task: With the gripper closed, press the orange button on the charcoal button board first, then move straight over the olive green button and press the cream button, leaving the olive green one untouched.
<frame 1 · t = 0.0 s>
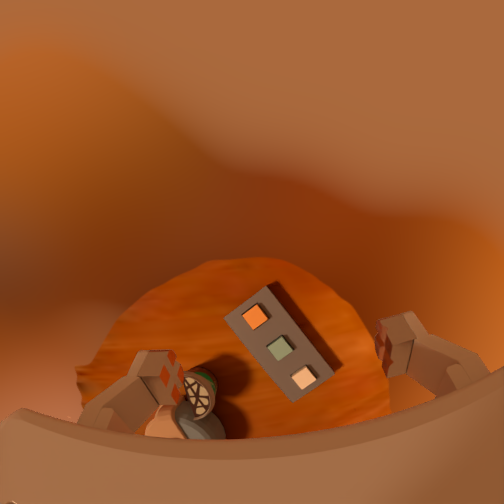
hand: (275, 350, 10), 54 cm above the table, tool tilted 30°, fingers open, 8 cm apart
button board: (280, 344, 63), on the table
olive green button: (280, 348, 60), point 3 cm above the table, slide at 0.0 cm
cream button: (303, 377, 59), point 3 cm above the table, slide at 0.0 cm
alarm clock: (191, 426, 64), on the table
orange button: (255, 316, 61), point 3 cm above the table, slide at 0.0 cm
food container: (210, 382, 65), on the table
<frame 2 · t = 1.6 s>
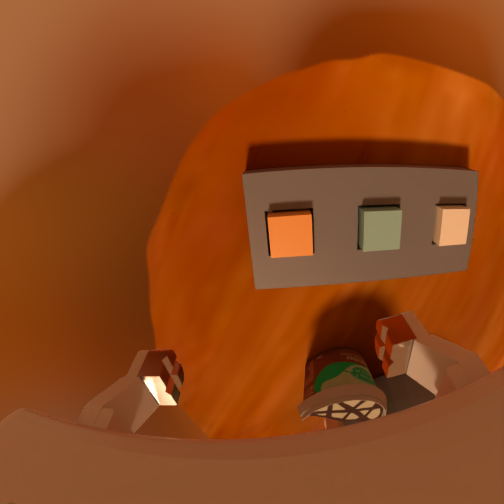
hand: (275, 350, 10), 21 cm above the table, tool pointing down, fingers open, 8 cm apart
button board: (370, 218, 29), on the table
olive green button: (379, 228, 26), point 3 cm above the table, slide at 0.0 cm
cream button: (450, 224, 25), point 3 cm above the table, slide at 0.0 cm
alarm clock: (377, 404, 41), on the table
orange button: (290, 233, 27), point 3 cm above the table, slide at 0.0 cm
food container: (343, 356, 37), on the table
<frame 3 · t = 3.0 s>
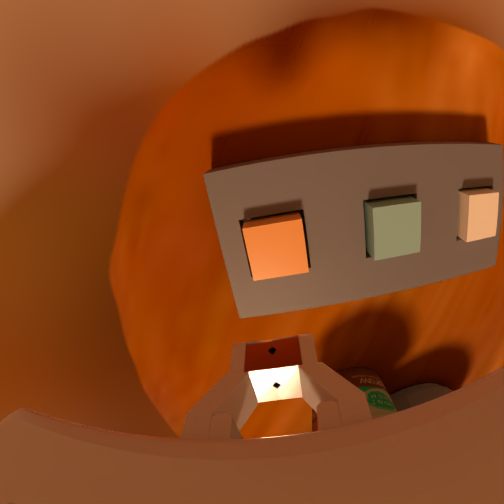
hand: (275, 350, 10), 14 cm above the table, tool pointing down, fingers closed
button board: (378, 214, 22), on the table
olive green button: (393, 227, 19), point 3 cm above the table, slide at 0.0 cm
cream button: (477, 213, 18), point 3 cm above the table, slide at 0.0 cm
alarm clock: (396, 417, 35), on the table
orange button: (276, 246, 20), point 3 cm above the table, slide at 0.0 cm
food container: (355, 376, 30), on the table
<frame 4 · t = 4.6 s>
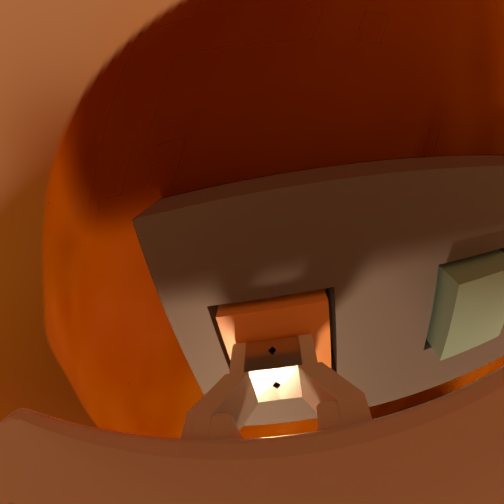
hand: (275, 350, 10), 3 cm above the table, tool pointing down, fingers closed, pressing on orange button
button board: (440, 270, 13), on the table
olive green button: (472, 303, 10), point 3 cm above the table, slide at 0.0 cm
orange button: (278, 335, 11), point 2 cm above the table, slide at 0.9 cm, touching gripper
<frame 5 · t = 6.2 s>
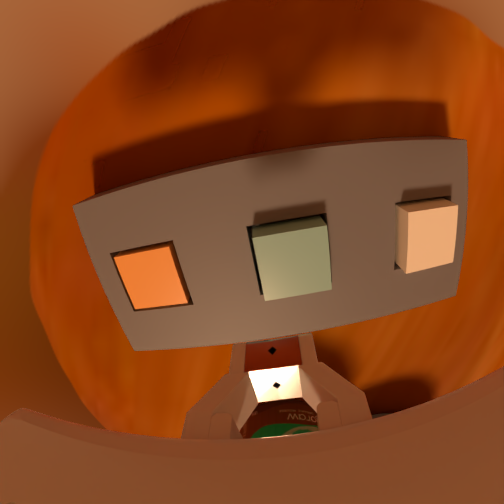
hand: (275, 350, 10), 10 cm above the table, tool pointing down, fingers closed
button board: (286, 237, 19), on the table
olive green button: (292, 258, 16), point 3 cm above the table, slide at 0.0 cm
cream button: (426, 234, 16), point 3 cm above the table, slide at 0.0 cm
orange button: (154, 273, 18), point 2 cm above the table, slide at 1.0 cm
food container: (289, 408, 28), on the table
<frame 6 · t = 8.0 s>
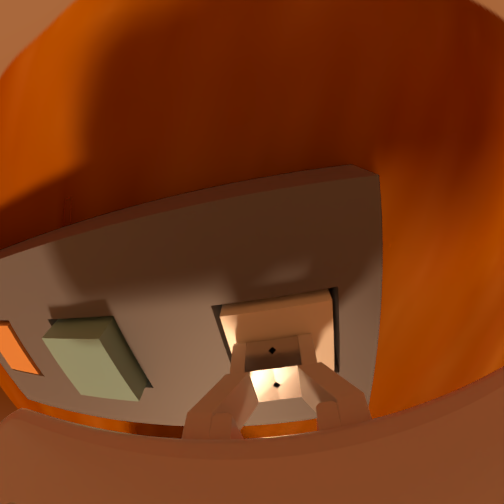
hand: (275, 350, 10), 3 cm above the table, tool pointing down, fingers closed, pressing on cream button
button board: (119, 320, 14), on the table
olive green button: (95, 358, 12), point 3 cm above the table, slide at 0.0 cm
cream button: (281, 334, 11), point 2 cm above the table, slide at 0.9 cm, touching gripper
orange button: (16, 341, 13), point 2 cm above the table, slide at 1.0 cm
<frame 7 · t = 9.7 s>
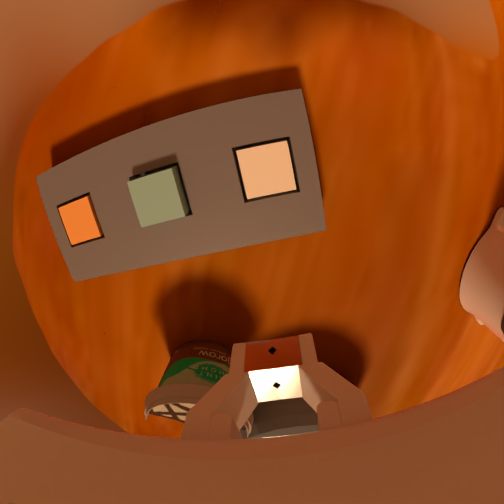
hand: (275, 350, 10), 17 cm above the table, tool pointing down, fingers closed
button board: (169, 188, 25), on the table
olive green button: (158, 196, 22), point 3 cm above the table, slide at 0.0 cm
cream button: (266, 168, 22), point 2 cm above the table, slide at 1.1 cm
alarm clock: (287, 403, 38), on the table
orange button: (83, 218, 24), point 2 cm above the table, slide at 1.0 cm
food container: (208, 350, 33), on the table
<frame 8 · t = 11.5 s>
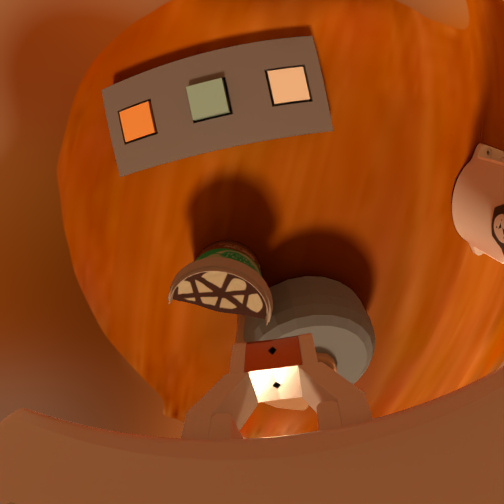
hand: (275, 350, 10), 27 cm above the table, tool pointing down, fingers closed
button board: (213, 102, 31), on the table
olive green button: (208, 99, 28), point 3 cm above the table, slide at 0.0 cm
cream button: (288, 86, 28), point 2 cm above the table, slide at 1.1 cm
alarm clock: (301, 324, 43), on the table
orange button: (139, 121, 30), point 2 cm above the table, slide at 1.0 cm
food container: (231, 253, 39), on the table
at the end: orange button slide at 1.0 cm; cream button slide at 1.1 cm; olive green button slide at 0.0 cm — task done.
